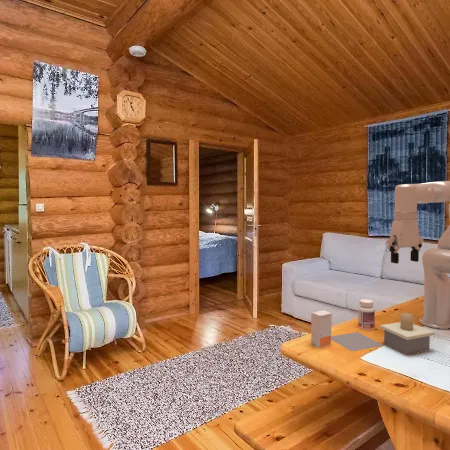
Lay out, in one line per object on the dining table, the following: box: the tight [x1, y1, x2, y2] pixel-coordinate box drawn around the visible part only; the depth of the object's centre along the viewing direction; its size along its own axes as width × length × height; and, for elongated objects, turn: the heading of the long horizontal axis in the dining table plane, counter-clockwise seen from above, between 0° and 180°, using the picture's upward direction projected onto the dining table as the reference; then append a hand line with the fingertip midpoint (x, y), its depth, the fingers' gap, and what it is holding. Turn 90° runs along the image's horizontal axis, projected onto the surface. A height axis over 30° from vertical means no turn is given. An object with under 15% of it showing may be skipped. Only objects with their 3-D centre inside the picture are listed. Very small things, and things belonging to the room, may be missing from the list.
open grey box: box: [383, 329, 431, 356], centre depth 126 cm, size 10×10×6 cm
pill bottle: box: [357, 298, 376, 331], centre depth 146 cm, size 6×6×11 cm
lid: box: [379, 312, 436, 340], centre depth 126 cm, size 12×12×6 cm
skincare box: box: [310, 310, 333, 349], centre depth 129 cm, size 6×4×12 cm
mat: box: [331, 331, 385, 352], centre depth 132 cm, size 14×14×1 cm
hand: (404, 262), depth 137 cm, fingers open, 9 cm apart
